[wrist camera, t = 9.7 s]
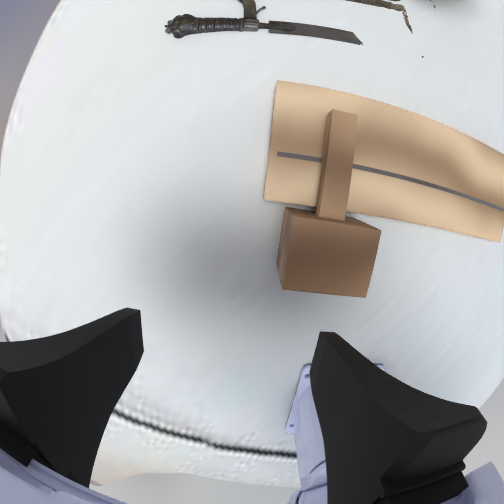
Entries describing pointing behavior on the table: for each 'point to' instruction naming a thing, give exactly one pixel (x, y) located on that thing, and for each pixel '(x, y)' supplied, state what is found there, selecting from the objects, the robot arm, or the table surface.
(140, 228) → the table surface
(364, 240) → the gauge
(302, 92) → the board
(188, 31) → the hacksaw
